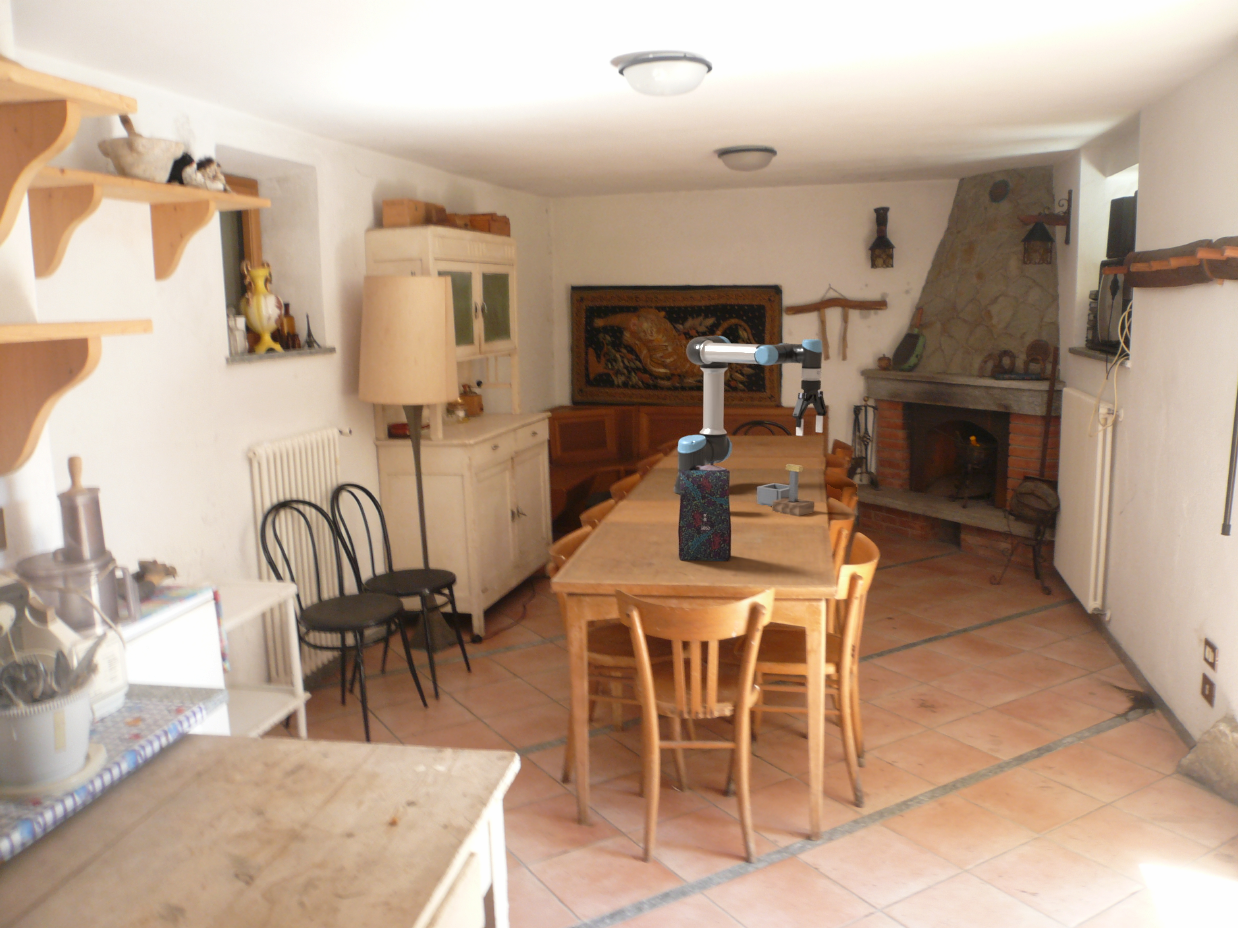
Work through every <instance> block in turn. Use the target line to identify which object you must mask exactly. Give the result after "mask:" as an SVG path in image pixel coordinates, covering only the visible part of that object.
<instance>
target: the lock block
mask: <svg viewBox="0 0 1238 928" xmlns="http://www.w3.org/2000/svg"><path fill="white" fill-rule="evenodd" d="M773 511H775V512H774V513H778V512H780V514H784V513H785V515H789V514H791V516H795V517H800V516H804V515H805V516H806V515H809V514H812V513H814V512H815V501H812V500H807V499H801V498H798V502H796V503H793V502H789V497H787V498H783V499H779V500H775V501H773V507H772V512H773ZM811 512H812V513H811Z"/></svg>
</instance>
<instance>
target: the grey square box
mask: <svg viewBox="0 0 1238 928" xmlns="http://www.w3.org/2000/svg"><path fill="white" fill-rule="evenodd" d="M787 497H789V484H784V483H783V484H782V483H776V482H775V483H774V482H772V483H769V484H764V485H759V486H756V502H757V505H758V504H760V506H764V505H768V506H767V507H769V506H773V501H775V500H779V499H783V498H787Z"/></svg>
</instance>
